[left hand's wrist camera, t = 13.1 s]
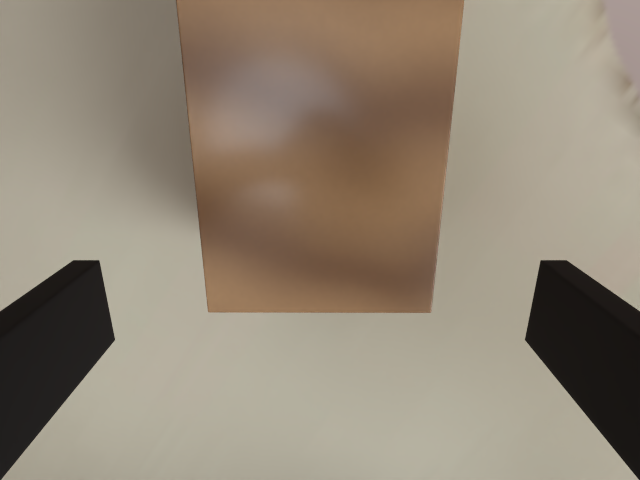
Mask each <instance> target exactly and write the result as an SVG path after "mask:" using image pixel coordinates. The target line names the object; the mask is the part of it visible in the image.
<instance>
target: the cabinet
mask: <svg viewBox="0 0 640 480" xmlns="http://www.w3.org/2000/svg"><path fill="white" fill-rule="evenodd" d="M176 4H177V14H178V24H179V33H180V43H181V53H182V62H183V72H184V82H185V92H186V101H187V111H188V121H189V131H190V140H191V150H192V160H193V169H194V179H195V189H196V199H197V208H198V218H199V228H200V238H201V247H202V257H203V267H204V276H205V286H206V296H207V306H208V312H344V313H430V312H431V309H432V300H433V290H434V281H435V272H436V262H437V253H438V243H439V234H440V224H441V215H442V205H443V196H444V186H445V177H446V168H447V158H448V149H449V139H450V130H451V120H452V111H453V101H454V92H455V82H456V73H457V63H458V54H459V45H460V35H461V26H462V16H463V7H464V0H176Z"/></svg>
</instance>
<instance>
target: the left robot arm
mask: <svg viewBox="0 0 640 480" xmlns="http://www.w3.org/2000/svg"><path fill="white" fill-rule="evenodd" d="M114 340H115V338H114V333H113V327H112V322H111V317H110V312H109V307H108V302H107V297H106V292H105V287H104V282H103V277H102V272H101V267H100V262H99V260H73V261H72V262H71V263H69V264H68V265H66V266H65V267H63V268H62V269H60V270H59V271H58V272H56V273H55V274H53V275H52V276H50V277H49V278H48V279H46V280H45V281H43V282H42V283H40V284H39V285H38V286H36V287H35V288H33V289H32V290H30V291H29V292H27V293H26V294H25V295H23V296H22V297H20V298H19V299H17V300H16V301H15V302H13V303H12V304H10V305H9V306H7V307H6V308H5V309H3V310H2V311H0V480H1V479H2V478H3V477H4V475H5V474H6V473H7V472H8V470H9V469H10V468H11V467H12V465H13V464H14V463H15V462H16V461H17V459H18V458H19V457H20V456H21V454H22V453H23V452H24V451H25V450H26V448H27V447H28V446H29V445H30V443H31V442H32V441H33V440H34V439H35V437H36V436H37V435H38V434H39V432H40V431H41V430H42V429H43V427H44V426H45V425H46V424H47V423H48V421H49V420H50V419H51V418H52V416H53V415H54V414H55V413H56V412H57V410H58V409H59V408H60V407H61V405H62V404H63V403H64V402H65V401H66V399H67V398H68V397H69V396H70V394H71V393H72V392H73V391H74V389H75V388H76V387H77V386H78V385H79V383H80V382H81V381H82V380H83V378H84V377H85V376H86V375H87V374H88V372H89V371H90V370H91V369H92V367H93V366H94V365H95V364H96V363H97V361H98V360H99V359H100V358H101V356H102V355H103V354H104V353H105V351H106V350H107V349H108V348H109V347H110V345H111V344H112V343H113V342H114ZM525 340H526V342H527V343H528V344H529V345H530V347H531V348H532V349H533V350H534V351H535V353H536V354H537V355H538V356H539V358H540V359H541V360H542V361H543V363H544V364H545V365H546V366H547V367H548V369H549V370H550V371H551V372H552V374H553V375H554V376H555V377H556V378H557V380H558V381H559V382H560V383H561V385H562V386H563V387H564V388H565V389H566V391H567V392H568V393H569V394H570V396H571V397H572V398H573V399H574V401H575V402H576V403H577V404H578V405H579V407H580V408H581V409H582V410H583V412H584V413H585V414H586V415H587V416H588V418H589V419H590V420H591V421H592V423H593V424H594V425H595V426H596V427H597V429H598V430H599V431H600V432H601V434H602V435H603V436H604V437H605V439H606V440H607V441H608V442H609V443H610V445H611V446H612V447H613V448H614V450H615V451H616V452H617V453H618V454H619V456H620V457H621V458H622V459H623V461H624V462H625V463H626V464H627V465H628V467H629V468H630V469H631V470H632V472H633V473H634V474H635V475H636V477H637V478H638V479H639V480H640V311H638V310H637V309H635V308H634V307H633V306H631V305H630V304H628V303H627V302H625V301H624V300H623V299H621V298H620V297H618V296H617V295H615V294H614V293H613V292H611V291H610V290H608V289H607V288H605V287H604V286H602V285H601V284H600V283H598V282H597V281H595V280H594V279H592V278H591V277H590V276H588V275H587V274H585V273H584V272H582V271H581V270H580V269H578V268H577V267H575V266H574V265H572V264H571V263H569V262H568V261H567V260H541V262H540V267H539V272H538V277H537V282H536V287H535V292H534V297H533V302H532V307H531V312H530V317H529V322H528V327H527V333H526V338H525Z"/></svg>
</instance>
